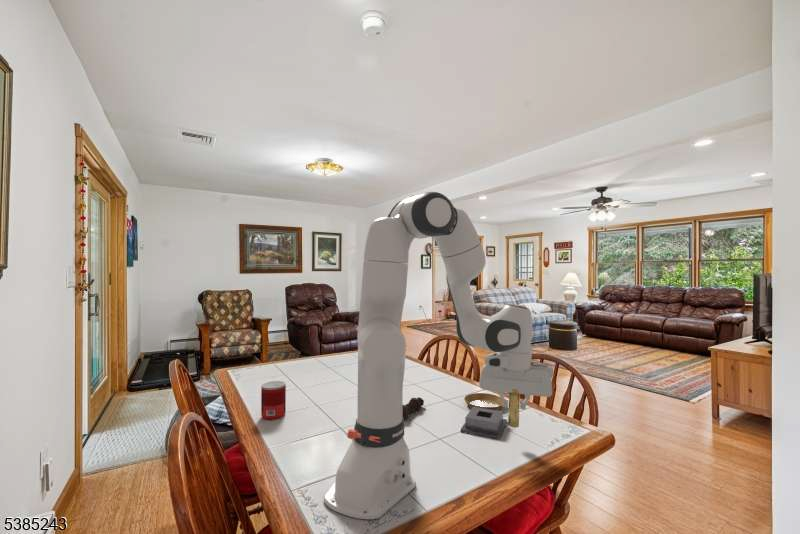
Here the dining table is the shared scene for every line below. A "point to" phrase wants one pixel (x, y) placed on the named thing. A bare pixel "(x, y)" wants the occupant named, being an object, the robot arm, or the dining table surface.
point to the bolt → (411, 407)
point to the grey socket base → (484, 422)
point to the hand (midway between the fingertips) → (513, 407)
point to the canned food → (273, 400)
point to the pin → (514, 409)
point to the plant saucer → (484, 397)
